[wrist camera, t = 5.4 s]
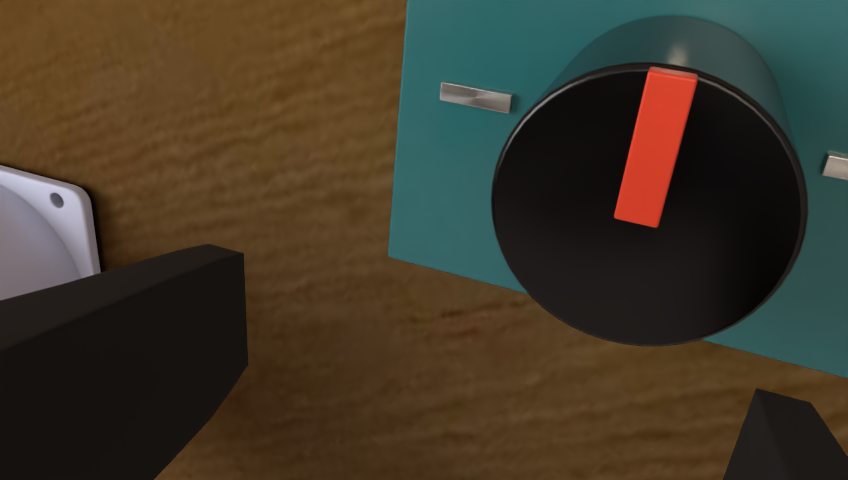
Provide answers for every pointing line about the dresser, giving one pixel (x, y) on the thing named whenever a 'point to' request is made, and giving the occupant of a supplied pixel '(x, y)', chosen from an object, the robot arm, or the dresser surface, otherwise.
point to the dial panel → (534, 72)
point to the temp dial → (653, 186)
